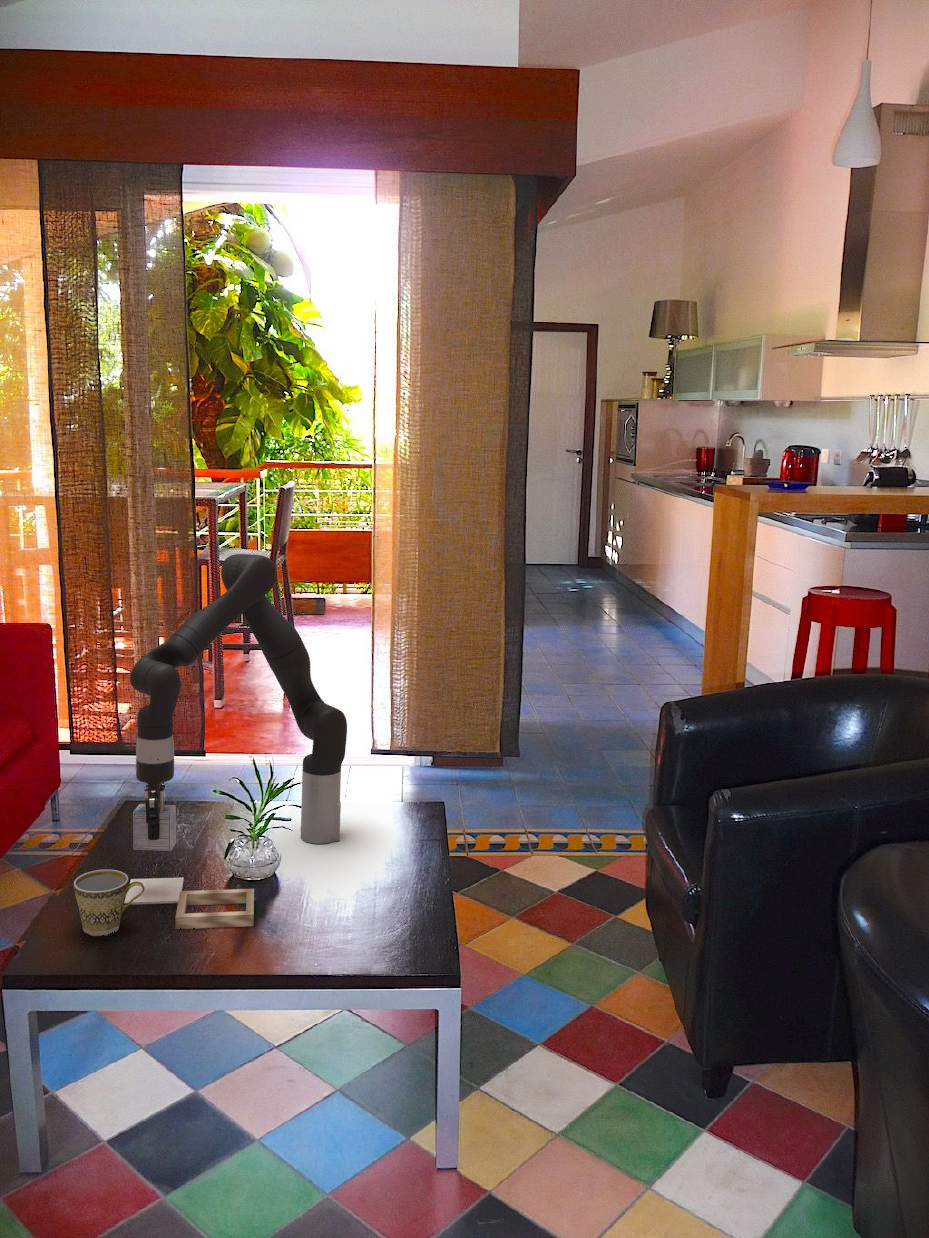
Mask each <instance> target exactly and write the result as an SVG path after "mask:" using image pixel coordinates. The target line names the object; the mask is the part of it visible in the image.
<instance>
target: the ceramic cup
mask: <svg viewBox="0 0 929 1238" xmlns="http://www.w3.org/2000/svg"><path fill="white" fill-rule="evenodd" d="M136 885H139V886H141V887H142V892H141V893H140V894H139V895H137V896H136V897H134V898H133V899H132V900H131V901H130V902H129V903H127V904H125V903H124V902H125V898H126V895H127V892H128V891H129V889H130V888H131V887H133V886H136ZM73 890H74V895H75V899H76V903H77V906H78V911H79V916H80V920H81V926H82V930H83V933H86V934H87V935H90V936H92V937H97V936H98V937H99V936H100V937H101V936H102V935H104V936H108V934H109V935H110V933H111V934H113V933H115V932H117V931H119V929H120V925H121V920H122V919H121V918H122V915H123V912H124V911H125V910H126V908H128V906H130V904H131V903H132V902H133V901H134V900H135V899H137V898H138V897H140V896H141V895H142V894H143V892H144V885H143V884H142V883H141V882H137V881H136V882H132V883H130V882H129V876H128V874H126V873H125V872H123V871H121V870H116V869H96V870H92V871H89V872H84V873H83V874H81V875H79V876H78V877H76V878H75V880H74V881H73ZM114 931H115V932H114ZM112 932H113V933H112Z"/></svg>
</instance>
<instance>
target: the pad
mask: <svg viewBox="0 0 929 1238" xmlns="http://www.w3.org/2000/svg"><path fill="white" fill-rule="evenodd" d="M129 881H130V882H129V884H130V883H132V882H136V881H137V882H141V883H142V884H143V885H144V892H143V894H142V895H141V896H140V897H138V898H137V899H135V900H134V901H133V902H132V903H131V904H130V905H132V906H133V905H157V904H158V905H159V904H160V905H161V904H162V905H163V904H178V900H179V894H180V891H183V886H184V881H185V878H184V876H183V877H157V878H155V877H154V878H131V879H130V880H129ZM141 892H142V887H141V886H139V885H136V886H133V887H131V888H130V889H129V891H128V892H127V894H126V895H125V900H124V903H125V904H127V903H129V902H130V901H131V900H132V899H133V898H134V897H136V896H137V895H139V894H140V893H141ZM130 905H129V906H130Z"/></svg>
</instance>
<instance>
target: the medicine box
mask: <svg viewBox="0 0 929 1238" xmlns="http://www.w3.org/2000/svg"><path fill="white" fill-rule="evenodd" d="M159 806H160V805H159ZM132 817H133V819H132V820H133V821H132V823H133V824H132V825H133V828H132V829H133V834H132V835H133V841H132V842H133V847H132V849H133V850H134V851H135V850H136V851H159V852H160V851H161V852H162V851H164V852H167V851H168V852H170V851H171V852H172V850H173V848H175V845H176V844H177V805H175V804H164V805H163V810H162V811H161V812H160V819H161V820H160V829H159V839H158V840H149V839H148V824H146V811H145V803H139V804H138V806H136V807H135V809H134V810H133V812H132ZM150 817H156V815H155V814H151V815H150Z"/></svg>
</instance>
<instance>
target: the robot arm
mask: <svg viewBox="0 0 929 1238" xmlns="http://www.w3.org/2000/svg"><path fill="white" fill-rule="evenodd" d="M220 577H221V581H222V584H223V586H224V588H225V590H226V591H225V592H224V593H223V594H222V595H220V596H219V597H218V598H217V599H215V600H213V601H212V602H211V603H209V604H208V605H206V606H204V607H203V608H201V609H200V610H198V611H197V612H195V613H194V614H192V615H190V616H189V617H188V618H187V619H186V620H185V621H184V622H183V623H182V624H181V625H180V626H179V627H178V628H177V629H175V631H174V632H173V633H172V634H171V636H170V637H169V638H168V639H167V640H166V641H164V642H163V643H161V644H160V645H158V646H156V647H155V648H153V649H152V650H150V651H149V652H147V653H145V654H144V655H143V656H142V657H141V658H139V659H138V660H137V662H136V663H135V664H134V666H133V667H132V669H131V671H130V675H129V681H130V682H129V683H130V684H131V687H132V688H133V689H134V690H135V691H137V692H139V693H140V694H144V695H148V696H150V700H149V705H145V706H142V707H141V708H140V709H139V710H138V713H137V717H136V718H137V723H136V728H137V731H136V732H137V733H136V734H137V736H136V737H137V738H136V743H135V777H136V780H138V782H141V783H145V788H144V792H143V793H144V794H143V795H144V798H145V800H144V804H145V811H146V824H148V839H149V840H158V839H159V829H160V820H161V819H160V812H161V811H162V810H163V805H165V801H166V791H167V785H166V784H165V783H166V782H169V781H171V780H172V779H173V778H174V776H175V741H174V715H175V710H176V707H177V704H178V701H179V700H178V699H179V697H180V693H181V689H182V688H181V687H182V681H181V677H180V676H181V675H180V673H179V671H178V670H177V668H181V667H188V666H190V665H192V664H193V663H194V662H196V661H197V659H198V658H199V657H200V656H201V655H202V654H203V653H204V651H206V649H208V647H209V646H210V644H212V643H213V641H214V640H215V639H216V638H217V637H218V636H220V634H222V632H223V631H224V630H225V629H227V627H229V626H230V625H231V624H232V623H233V622H235V621H236V620H237V619H238V618H240V616H241V615H243V617H244V619H245V621H246V622H247V624H248V626H249V628H250V630H251V633H252V635H253V636H254V637H255V640H256V641H257V643H258V645H259V647H260V649H261V652H262V654H263V656H264V658H265V660H266V662H267V664H268V666H269V667H270V670H271V671H272V673H273V675H274V677H275V678H276V680H277V682H278V684H279V686H280V687H281V690H282V691H283V693H284V694H285V696H286V700H287V701H288V703H289V706H290V710H291V711H292V715H293V717H294V720H295V722H296V724H297V725H296V726H297V727H298V730H299V731H300V732H301V734H302V735H303V736H304V737H306V738H308V739H310V741H311V740H312V751H311V753H310V754H307V755H306V756H304V757H303V759H302V773H301V777H302V778H301V805H300V806H301V811H300V814H301V815H300V839H301V840H302V841H304V842H306V843H309V844H316V845H317V844H318V845H320V844H321V845H323V844H329V843H330V844H331V843H334V842H339V841H340V836H341V835H340V833H341V813H342V812H341V808H342V805H341V804H342V803H341V784H342V783H341V780H342V764H343V762H344V759H345V756H346V748H347V737H348V723H347V717H346V716H345V715H346V714H344V712H343V711H342V710H340V709H339V708H336V707H335V706H332V705H330V704H328V703H326V702H325V701H324V700H323V699H322V698H321V696H320V694H319V693H318V691H317V689H316V688H315V687H316V686H314V684H313V680H312V677H311V676H312V674H311V659H310V654H309V652H308V651H307V647H306V646H305V643H304V641H303V639H302V638H301V635H300V634H299V632H298V631H297V629H296V628H295V627H294V626H293V625H292V623H291V622H290V621H289V620H288V619H287V618H286V617H284V615H283V614H281V613H280V612H279V611H278V610H277V608H275V606H274V605H273V604H272V603H271V602H270V600H269V598H268V597H267V596H266V595H267V594H269V592H271V590H272V589H273V588H274V587H275V584H276V582H277V578H278V572H277V567H276V564H275V562H274V561H273V560H272V559H271V558H269V557H267V556H265V555H261V554H248V553H247V554H246V553H236V554H231V555H229V556H227V557H226V558H225V559H224V561H223V562H222V565H221V569H220ZM159 805H160V806H159ZM151 814H155V815H156V817H150V815H151Z"/></svg>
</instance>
